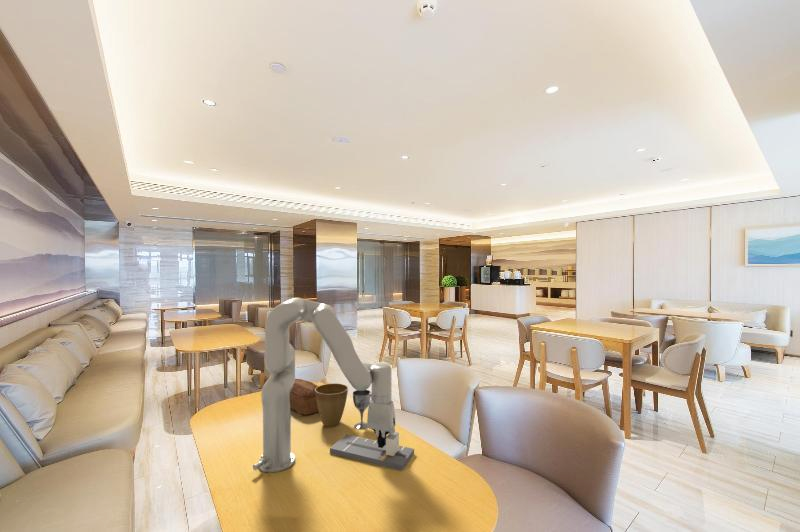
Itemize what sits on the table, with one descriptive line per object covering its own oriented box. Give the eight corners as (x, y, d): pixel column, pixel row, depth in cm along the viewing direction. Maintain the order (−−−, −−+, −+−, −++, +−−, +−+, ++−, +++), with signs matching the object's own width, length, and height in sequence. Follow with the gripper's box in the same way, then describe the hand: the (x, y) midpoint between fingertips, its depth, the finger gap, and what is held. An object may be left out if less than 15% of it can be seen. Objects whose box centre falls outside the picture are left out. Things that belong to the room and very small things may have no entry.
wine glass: (349, 427, 155) (349, 393, 155) (359, 420, 162) (359, 388, 162) (364, 431, 152) (364, 396, 152) (374, 424, 159) (374, 391, 159)
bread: (303, 419, 164) (303, 393, 164) (276, 402, 184) (276, 379, 184) (328, 410, 174) (328, 386, 174) (300, 396, 194) (300, 373, 194)
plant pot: (345, 431, 152) (344, 394, 152) (311, 430, 152) (311, 394, 152) (350, 416, 167) (350, 382, 167) (319, 416, 167) (319, 382, 167)
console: (402, 471, 122) (402, 464, 122) (329, 453, 134) (329, 447, 134) (414, 454, 133) (414, 448, 133) (346, 439, 145) (346, 433, 145)
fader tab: (393, 456, 127) (393, 438, 127) (386, 454, 129) (386, 437, 129) (398, 449, 132) (398, 432, 132) (391, 448, 133) (391, 431, 133)
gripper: (359, 398, 132) (359, 447, 132) (395, 404, 126) (396, 455, 126) (368, 391, 139) (368, 438, 139) (403, 397, 133) (403, 445, 133)
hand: (381, 446), depth 132 cm, fingers closed
